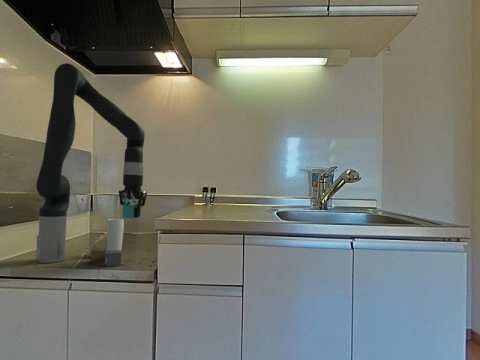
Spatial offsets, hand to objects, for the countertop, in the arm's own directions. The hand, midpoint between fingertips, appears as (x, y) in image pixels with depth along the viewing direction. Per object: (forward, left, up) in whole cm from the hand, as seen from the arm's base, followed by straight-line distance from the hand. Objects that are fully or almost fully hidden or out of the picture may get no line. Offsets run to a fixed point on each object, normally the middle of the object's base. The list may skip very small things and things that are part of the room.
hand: (131, 216), depth 134 cm
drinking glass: (-1, +13, -18) cm, 22 cm away
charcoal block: (-8, -3, -17) cm, 19 cm away
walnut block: (-11, +4, -17) cm, 21 cm away
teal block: (0, 0, 0) cm, 0 cm away
